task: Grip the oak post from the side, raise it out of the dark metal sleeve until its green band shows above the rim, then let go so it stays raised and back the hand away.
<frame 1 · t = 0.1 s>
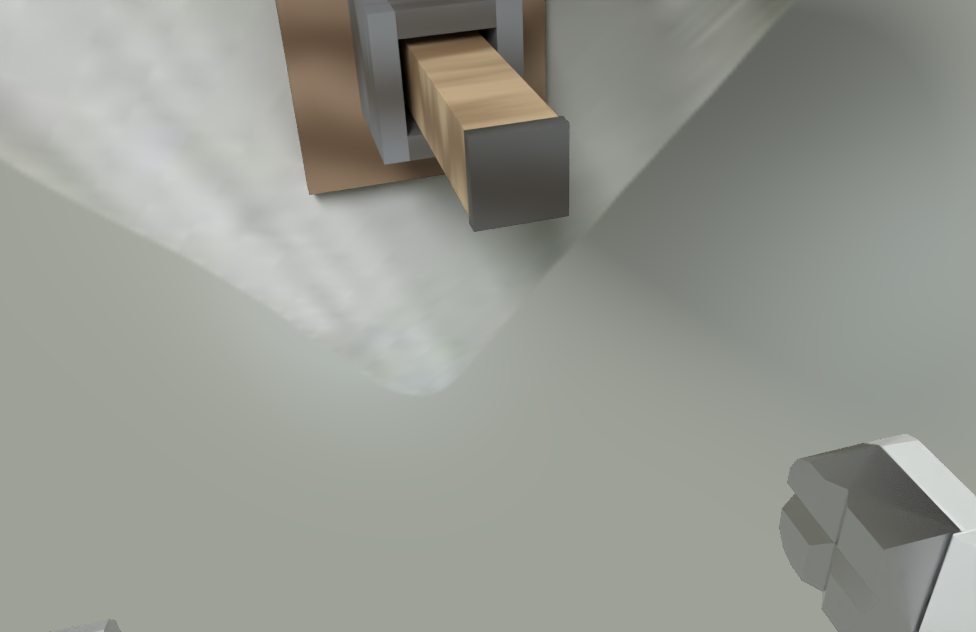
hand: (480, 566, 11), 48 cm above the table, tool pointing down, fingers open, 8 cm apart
sleeve stand: (414, 32, 55), on the table
oak post: (461, 96, 45), point 12 cm above the table, slide at 0.0 cm
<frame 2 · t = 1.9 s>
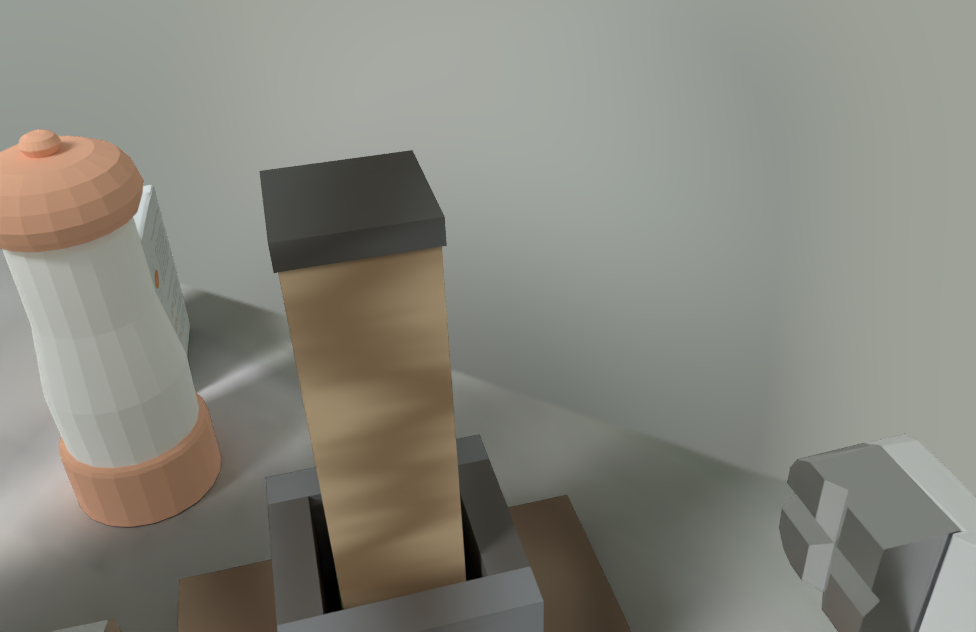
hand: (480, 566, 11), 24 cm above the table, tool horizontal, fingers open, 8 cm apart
small box: (143, 372, 55), on the table
pepper shaker: (152, 478, 47), on the table
oak post: (386, 486, 29), point 12 cm above the table, slide at 0.0 cm
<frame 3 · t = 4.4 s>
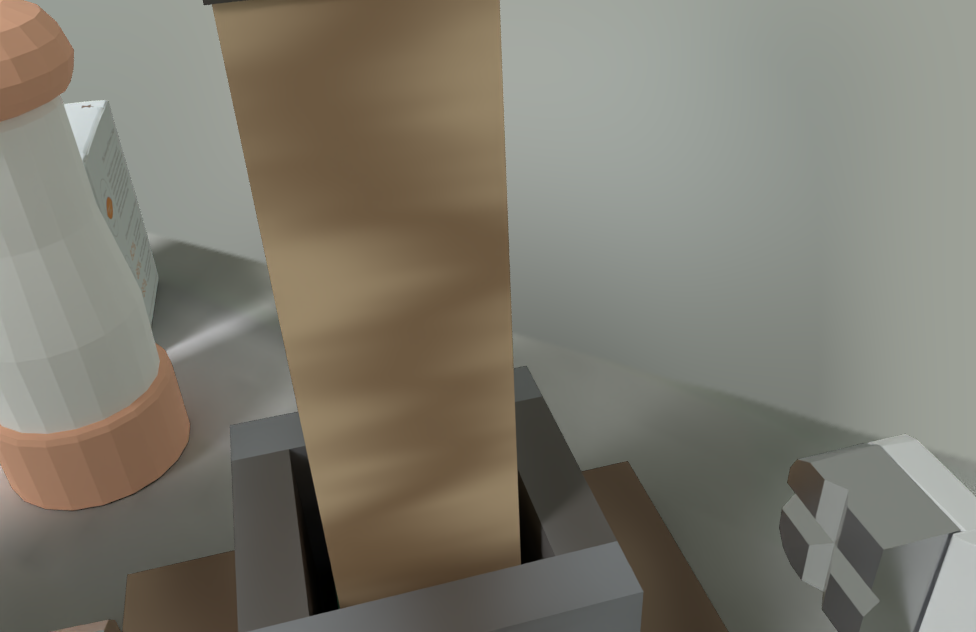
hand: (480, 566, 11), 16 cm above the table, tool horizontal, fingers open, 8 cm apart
small box: (101, 330, 46), on the table
pepper shaker: (103, 451, 38), on the table
oak post: (402, 425, 19), point 12 cm above the table, slide at 0.0 cm
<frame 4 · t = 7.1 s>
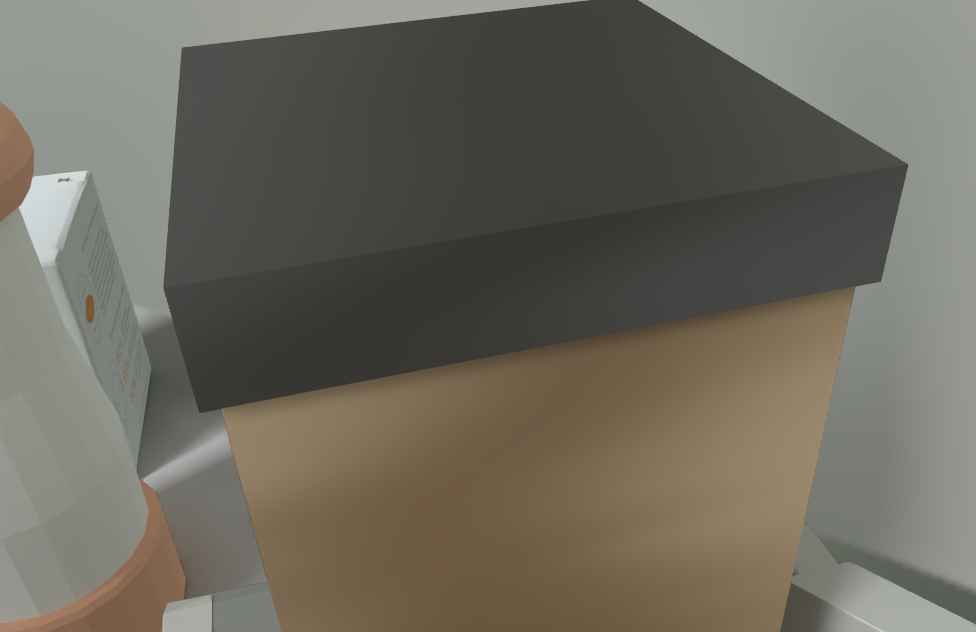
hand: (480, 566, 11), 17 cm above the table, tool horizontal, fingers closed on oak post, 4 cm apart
small box: (82, 438, 39), on the table
pepper shaker: (79, 615, 31), on the table
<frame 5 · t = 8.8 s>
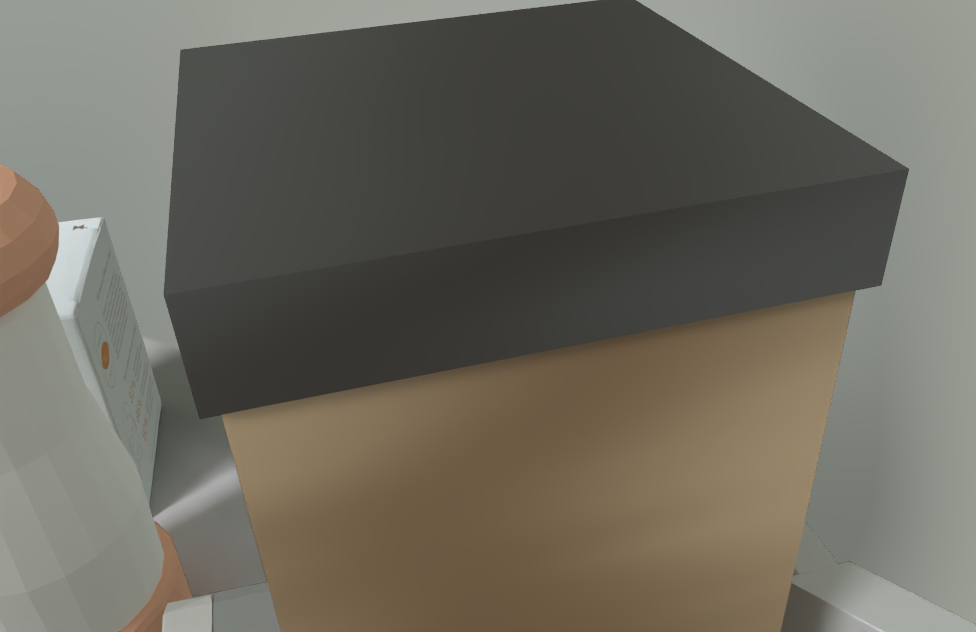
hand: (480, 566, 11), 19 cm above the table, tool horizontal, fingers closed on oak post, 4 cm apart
small box: (95, 473, 40), on the table
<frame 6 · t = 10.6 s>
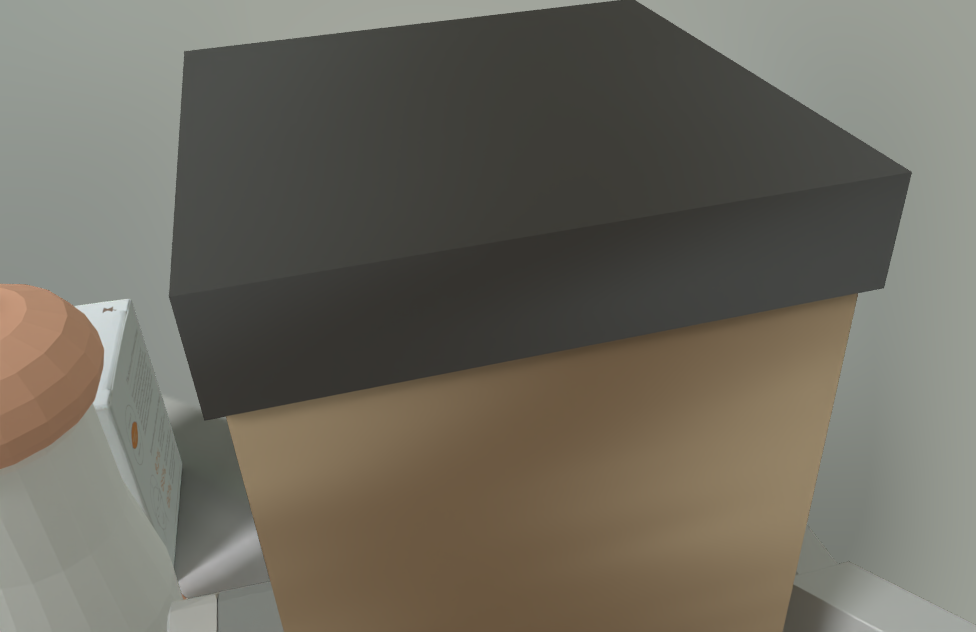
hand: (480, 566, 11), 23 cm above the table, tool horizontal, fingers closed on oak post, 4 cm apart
small box: (121, 536, 42), on the table
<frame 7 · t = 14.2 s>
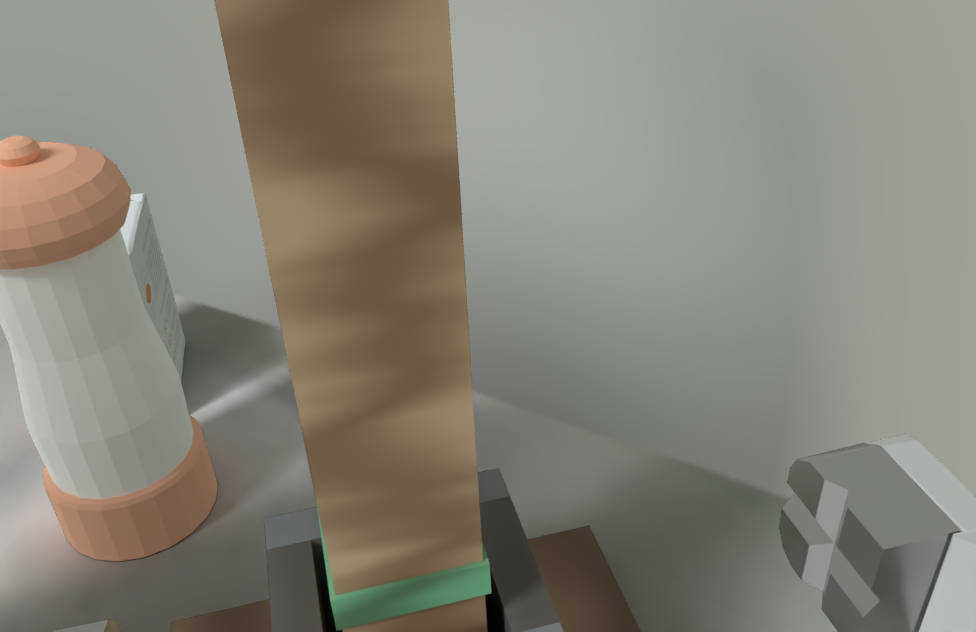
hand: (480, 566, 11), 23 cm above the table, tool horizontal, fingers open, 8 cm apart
small box: (135, 391, 52), on the table
pepper shaker: (143, 507, 44), on the table
oak post: (374, 354, 22), point 19 cm above the table, slide at 6.4 cm
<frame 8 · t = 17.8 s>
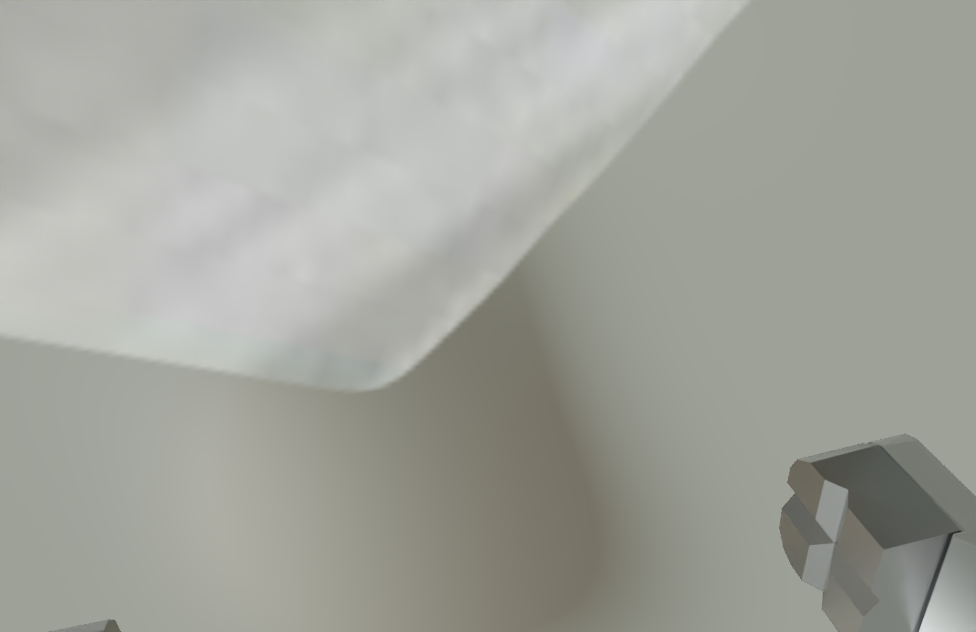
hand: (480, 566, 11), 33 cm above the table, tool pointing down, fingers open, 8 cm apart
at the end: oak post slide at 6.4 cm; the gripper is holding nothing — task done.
